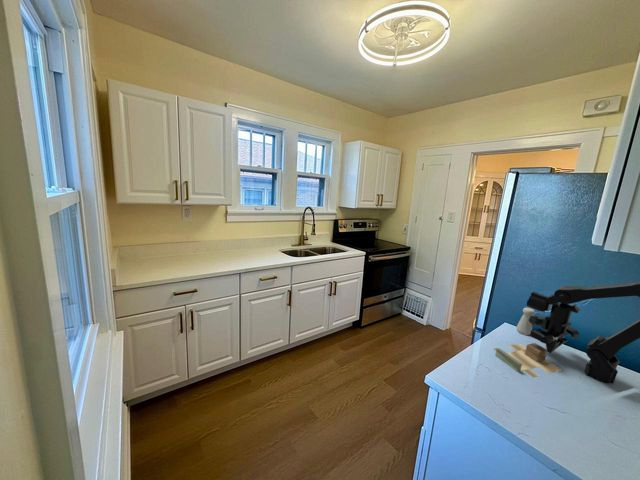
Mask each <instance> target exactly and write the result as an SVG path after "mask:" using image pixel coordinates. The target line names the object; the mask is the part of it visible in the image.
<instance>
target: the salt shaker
mask: <svg viewBox="0 0 640 480" xmlns="http://www.w3.org/2000/svg"><path fill="white" fill-rule="evenodd" d="M522 312H523V314H522V316H521V317H520V319H519V321H518V323H517V325H516V326H515V327H516V331H517V333H519V334H522V335H525V336H530V331H531V330H533V325H532V324H531V323H530V322H529V317H530V316H536V315H535V314H536V311H535V309H532V308H530V307H524V308H523V309H522Z"/></svg>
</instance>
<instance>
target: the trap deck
mask: <svg viewBox="0 0 640 480" xmlns="http://www.w3.org/2000/svg"><path fill="white" fill-rule="evenodd" d="M507 347H509V348H510V349H512V351H511V352H510V351H509V352H506V351H504V350H503V349H501V348H500V347H495V348H493V351H495V354H494V355H495V357H497V358H498V359H500V360H501V361H502V362H503V363H505V364H506V365H507V366H509V367H510V368H512V369H513V370H514V371H515V372H521V371H523V372H525V373H526V374H528V375H529V376H531V377H532V378H535V377H540V375H539V374H537V373H536V371H535V372H534V371H533V370H532V369H534V368H540V369H542V370H543V371H545V372H547V374H553V373H557V372H561V371H563V369H562V368H561V367H558V366H557V365H555V364H554V363H552V362H550V361H549V360H548V359H546V358H545V360H543V361H538V362H536V361H534V360H533V359H531V358H530V357H528V356H527V355H525V351H526V347H527V346H525V345H523V344H521V343H516V344H511V345H507Z"/></svg>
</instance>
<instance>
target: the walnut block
mask: <svg viewBox="0 0 640 480" xmlns="http://www.w3.org/2000/svg"><path fill="white" fill-rule="evenodd" d="M525 347H526V351H525V355H527V356H528V357H530V358H531V359H533V360H534V361H536V362H538V361H543V360H545V359H546V357H547V354H548V352H547V351H548V350H547V348H544V346H542V345H540V344H538V343H536V342H534V343H529V344H526V346H525Z"/></svg>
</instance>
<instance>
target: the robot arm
mask: <svg viewBox="0 0 640 480" xmlns="http://www.w3.org/2000/svg"><path fill="white" fill-rule="evenodd" d="M622 297H623V298H624V297H638V298H640V281H635V282H631V283H630V282H629V283H619V284H609V285H598V286H597V285H596V286H588V287H587V286H586V287H585V286H577V285H564V286H560V287H559V288H557V290H555V291H554V294H551V295H549V296H548V295H544V294H542V293H539V292H537V291H532V292H531V293H530V296H529V297H528V299H527V301H526V308H531V309H533V310H534V311H535V310H536V311H539V312H541V313H545V312H549V311H550V312H549V315H548V316H540V315H534V316H530V317H529V322H530V323H531V324H532V326H539V327H541V328H536V329H532V330H531V331H530V335H529V336H530V337H532V338H534V339H535V340H538V342H541V343H542V344H545V347H546V348H545V349H547V350H548V351H547V353H549V354H551V353H553V352H555V350H557V349H558V348H560V346H562V345H564V344H565V343H566V342H568V339H567V338H565V336H568V335H571V339H578V338H579V336H580V332H579V331H578V330H577V329H575V328H573V327H571V326H572V322H570V320H571V316H572V313H575V314H578V313H580V311H581V309H580V308H579V307H578V305H577V304H576V303H579V302H584V301H586V300H592V299H593V300H595V299H607V298H609V299H610V298H611V299H612V298H622ZM639 339H640V319H638V320H636V321H634V322H633V323H631V324H629V325H627V326H626V327H624V328H623V329H621V330H619V331H618V332H616V333H614V334H613V335H611V336H608V337H604V336H603V335H602V334H600V335H598V336H597V337H596V338H594V339H591V340H590V341H589V343H588V344H587V345H586V347H587V348H586V350H585V352H586V353H585V354H586V355H587V357H588V358H589V361H588V362H587V363H586V365H585V368H584V369H583V370H584V371H583V372H584V373H585V375H586V376H587V377H589V378H591V379H594V380H595V381H597V382H600V383H603V384H613V385H614V383H615V381H616V378H617V375H618V373H619V371H618V369H617V368H618V365H619V364H620V360H619V359H618V358H617V356H616V354H618V353H619V351H620V350H621V349H623V348H624V347H626V346H628V345H631V344H633V343H634V342H635V341H637V340H639Z"/></svg>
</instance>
